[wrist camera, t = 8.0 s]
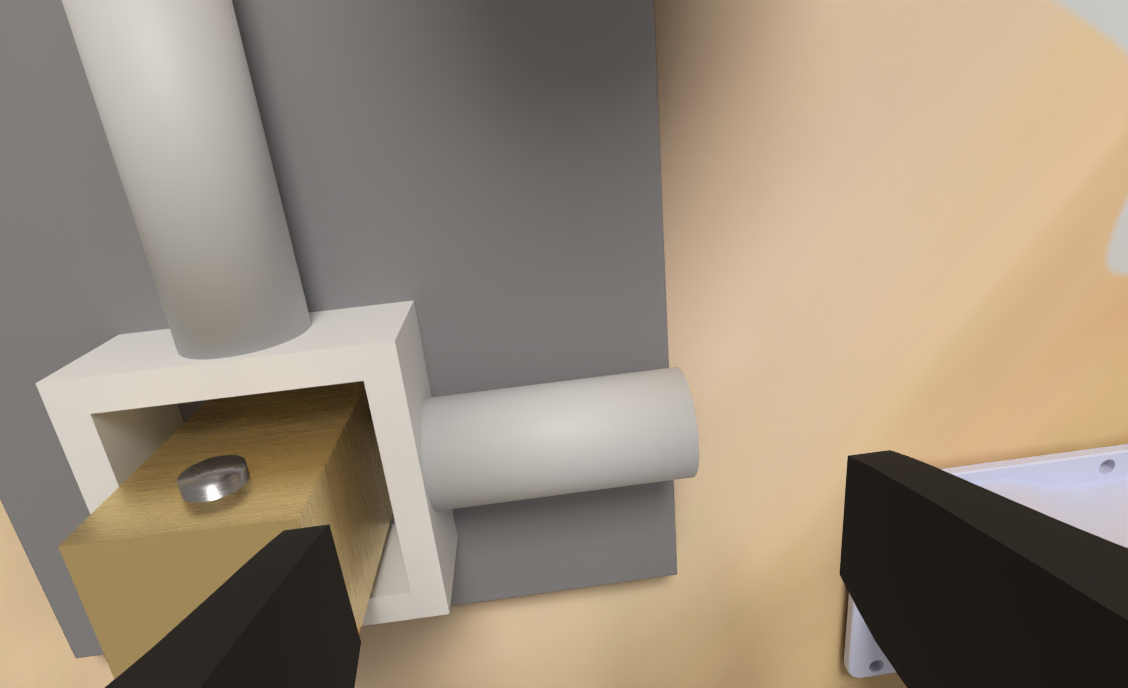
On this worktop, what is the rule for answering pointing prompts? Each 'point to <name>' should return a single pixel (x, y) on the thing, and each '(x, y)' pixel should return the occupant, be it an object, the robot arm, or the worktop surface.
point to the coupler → (230, 510)
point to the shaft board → (348, 270)
